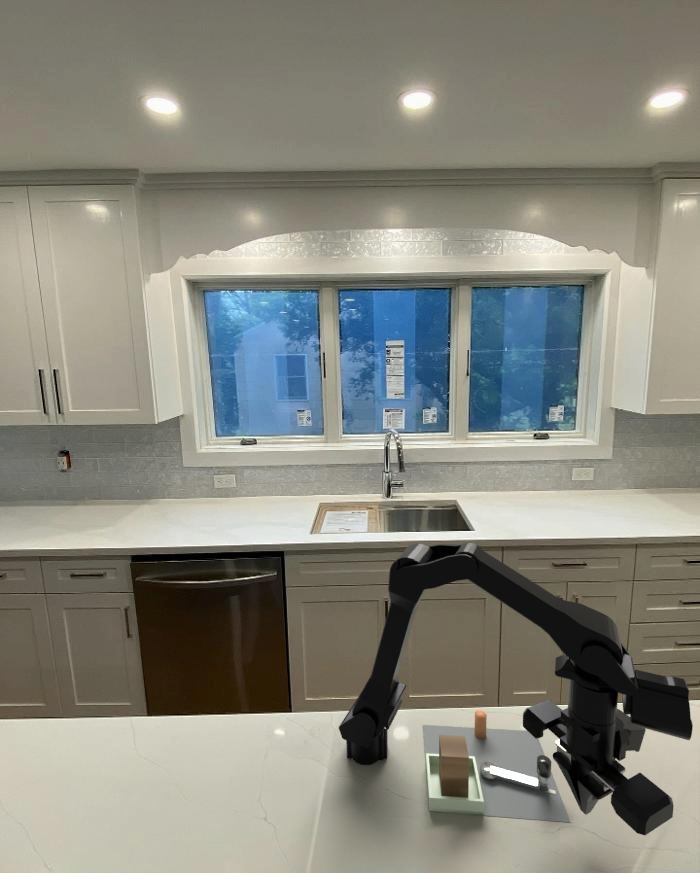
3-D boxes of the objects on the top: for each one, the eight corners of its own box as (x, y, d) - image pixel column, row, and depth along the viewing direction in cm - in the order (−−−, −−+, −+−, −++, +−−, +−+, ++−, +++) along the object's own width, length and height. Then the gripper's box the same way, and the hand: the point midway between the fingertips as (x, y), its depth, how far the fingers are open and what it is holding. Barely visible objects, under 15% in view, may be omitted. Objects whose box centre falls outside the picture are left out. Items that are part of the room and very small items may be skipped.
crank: (479, 777, 71) (479, 750, 71) (480, 763, 74) (481, 737, 73) (550, 797, 68) (551, 770, 67) (549, 782, 70) (550, 755, 70)
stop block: (468, 799, 68) (468, 757, 67) (441, 797, 68) (441, 756, 67) (464, 775, 72) (465, 736, 71) (439, 773, 72) (439, 734, 71)
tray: (429, 810, 67) (429, 797, 66) (426, 765, 74) (426, 753, 74) (483, 814, 66) (483, 801, 65) (474, 768, 73) (474, 756, 73)
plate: (428, 818, 67) (428, 787, 66) (422, 730, 83) (422, 705, 82) (570, 829, 64) (571, 797, 64) (535, 737, 81) (536, 711, 80)
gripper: (706, 739, 55) (695, 849, 57) (574, 653, 72) (570, 741, 74) (647, 774, 50) (637, 892, 53) (521, 674, 67) (518, 766, 69)
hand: (585, 811), depth 62 cm, fingers closed
